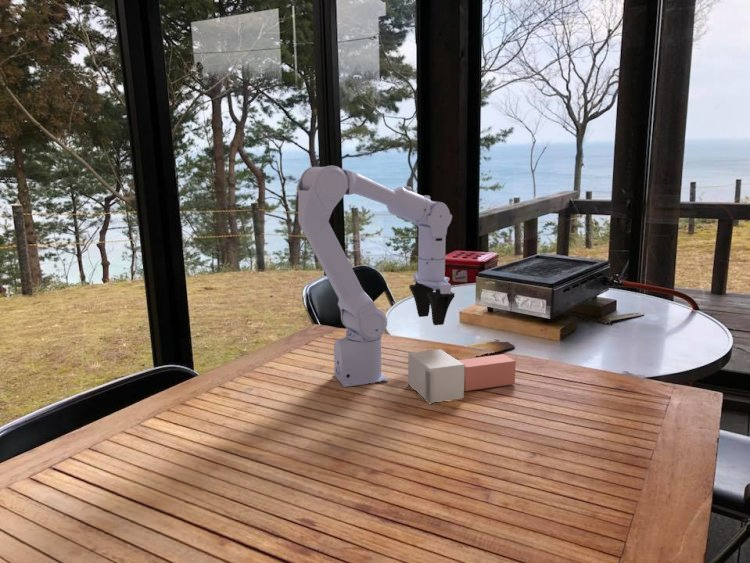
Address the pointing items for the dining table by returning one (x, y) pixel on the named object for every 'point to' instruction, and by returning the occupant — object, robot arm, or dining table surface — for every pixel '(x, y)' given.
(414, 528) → the dining table surface
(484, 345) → the parchment
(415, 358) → the off-white grooved box
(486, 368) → the pink cuboid
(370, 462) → the dining table surface
